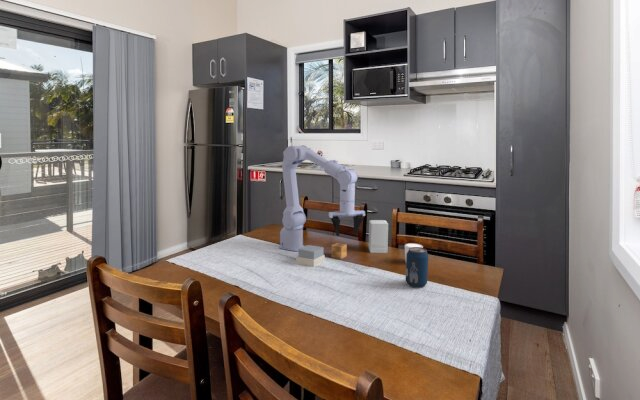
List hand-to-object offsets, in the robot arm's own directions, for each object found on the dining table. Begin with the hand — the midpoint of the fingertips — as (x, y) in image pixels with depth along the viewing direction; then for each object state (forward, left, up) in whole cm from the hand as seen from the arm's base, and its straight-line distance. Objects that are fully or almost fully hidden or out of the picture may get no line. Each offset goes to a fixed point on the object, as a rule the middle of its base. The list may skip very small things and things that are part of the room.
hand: (346, 234), depth 155 cm
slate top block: (-9, -12, -7) cm, 17 cm away
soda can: (+33, -13, -10) cm, 37 cm away
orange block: (-3, 0, -10) cm, 10 cm away
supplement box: (+7, +16, -10) cm, 20 cm away
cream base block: (-9, -12, -10) cm, 18 cm away
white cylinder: (+25, +8, -10) cm, 28 cm away
